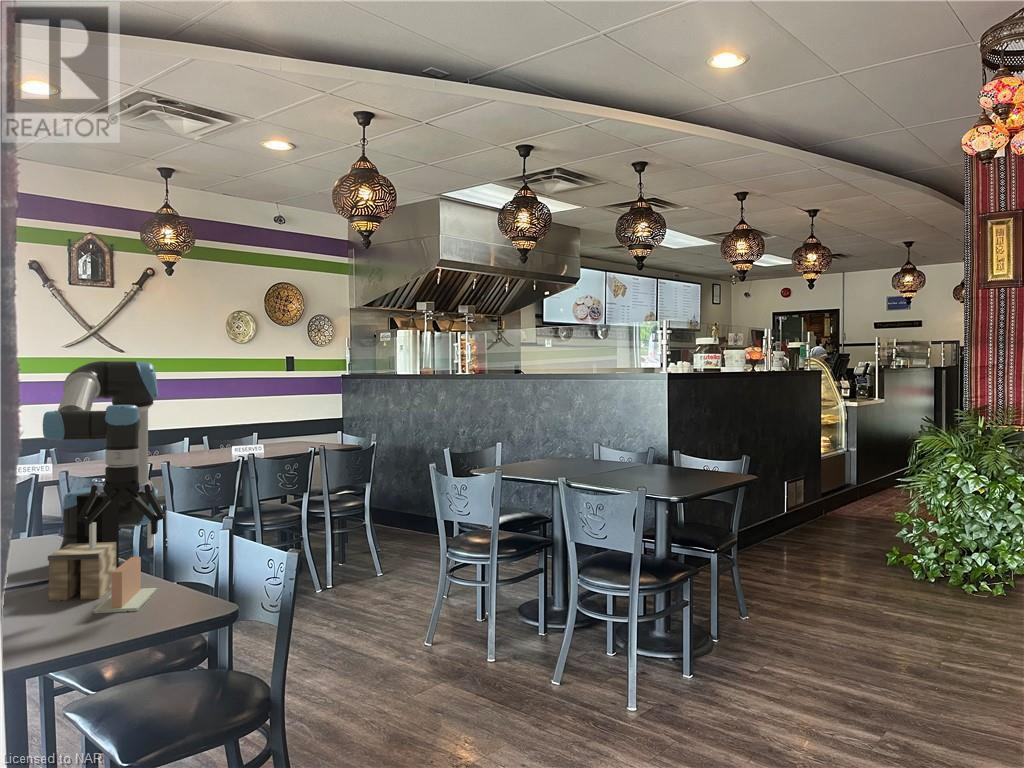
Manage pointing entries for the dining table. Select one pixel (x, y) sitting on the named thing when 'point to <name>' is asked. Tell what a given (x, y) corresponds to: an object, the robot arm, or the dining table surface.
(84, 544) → the brown boxy piece
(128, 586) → the tan rectangular slab
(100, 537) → the black tall rectangular block
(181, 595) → the dining table surface
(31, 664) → the dining table surface
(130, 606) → the mat
